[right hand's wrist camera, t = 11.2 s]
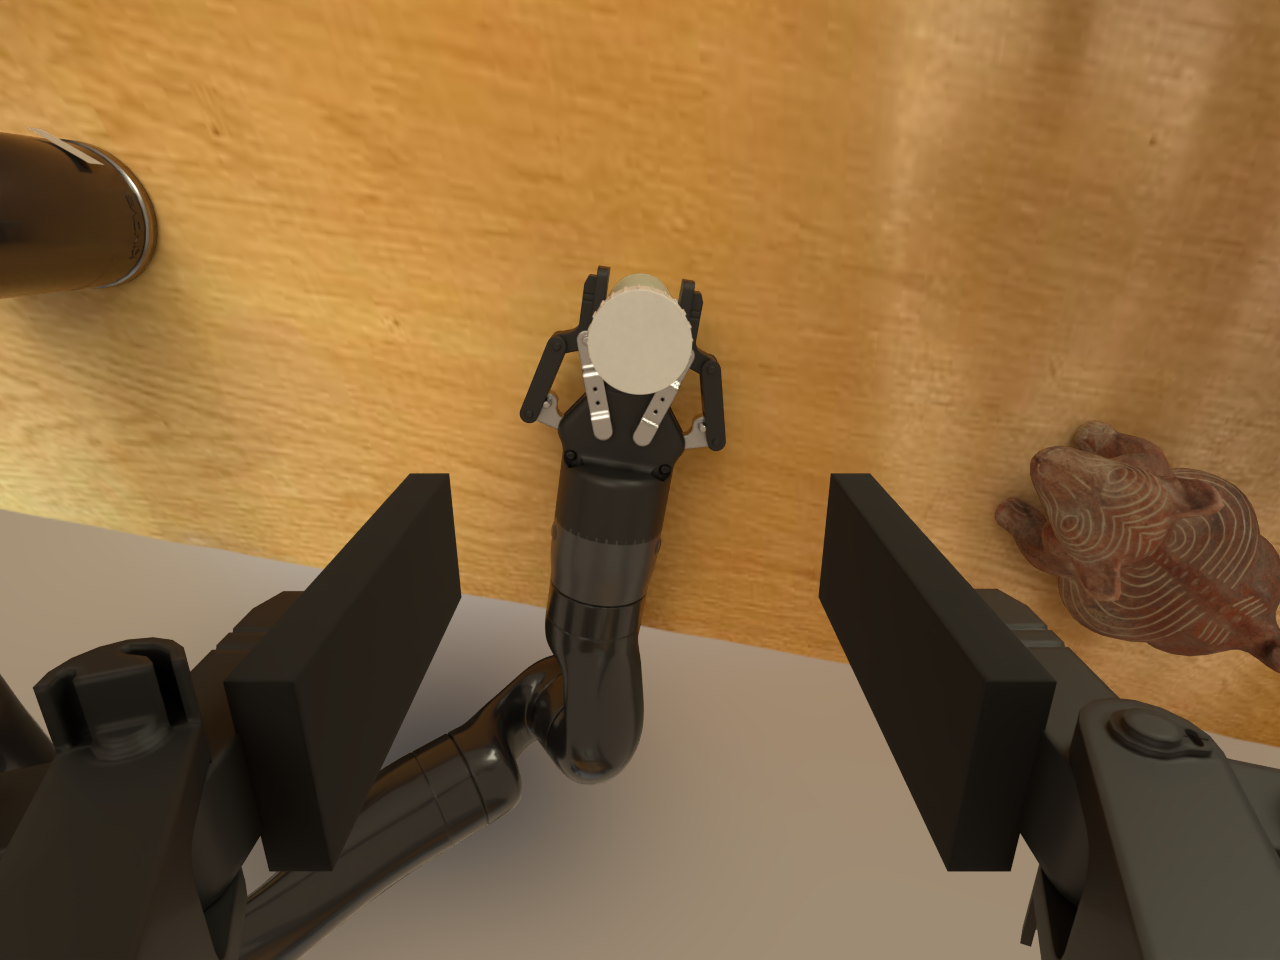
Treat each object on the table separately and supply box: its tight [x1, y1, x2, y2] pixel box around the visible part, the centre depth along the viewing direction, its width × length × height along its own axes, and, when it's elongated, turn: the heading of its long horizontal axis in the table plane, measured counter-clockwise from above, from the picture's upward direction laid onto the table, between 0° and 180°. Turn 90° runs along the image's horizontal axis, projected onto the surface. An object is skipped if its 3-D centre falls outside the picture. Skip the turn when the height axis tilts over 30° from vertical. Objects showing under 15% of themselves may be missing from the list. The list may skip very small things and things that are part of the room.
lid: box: [587, 284, 693, 395], centre depth 37 cm, size 5×5×2 cm
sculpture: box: [995, 421, 1280, 673], centre depth 49 cm, size 14×25×15 cm, turn 57°
